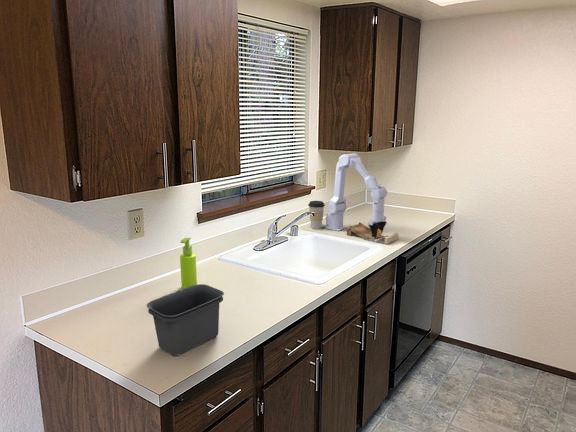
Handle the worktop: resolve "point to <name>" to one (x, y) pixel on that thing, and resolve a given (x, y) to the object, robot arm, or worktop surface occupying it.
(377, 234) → the ball
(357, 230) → the ramp
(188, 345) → the storage bin
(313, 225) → the coffee cup
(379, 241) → the mat
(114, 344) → the worktop surface
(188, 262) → the soap dispenser
